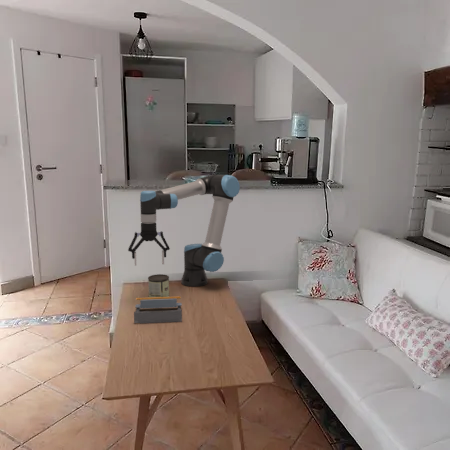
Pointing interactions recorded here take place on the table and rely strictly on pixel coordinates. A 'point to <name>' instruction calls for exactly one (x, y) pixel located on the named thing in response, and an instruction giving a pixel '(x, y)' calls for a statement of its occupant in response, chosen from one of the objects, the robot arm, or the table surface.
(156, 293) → the coffee can
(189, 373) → the table surface
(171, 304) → the carriage
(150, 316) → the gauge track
